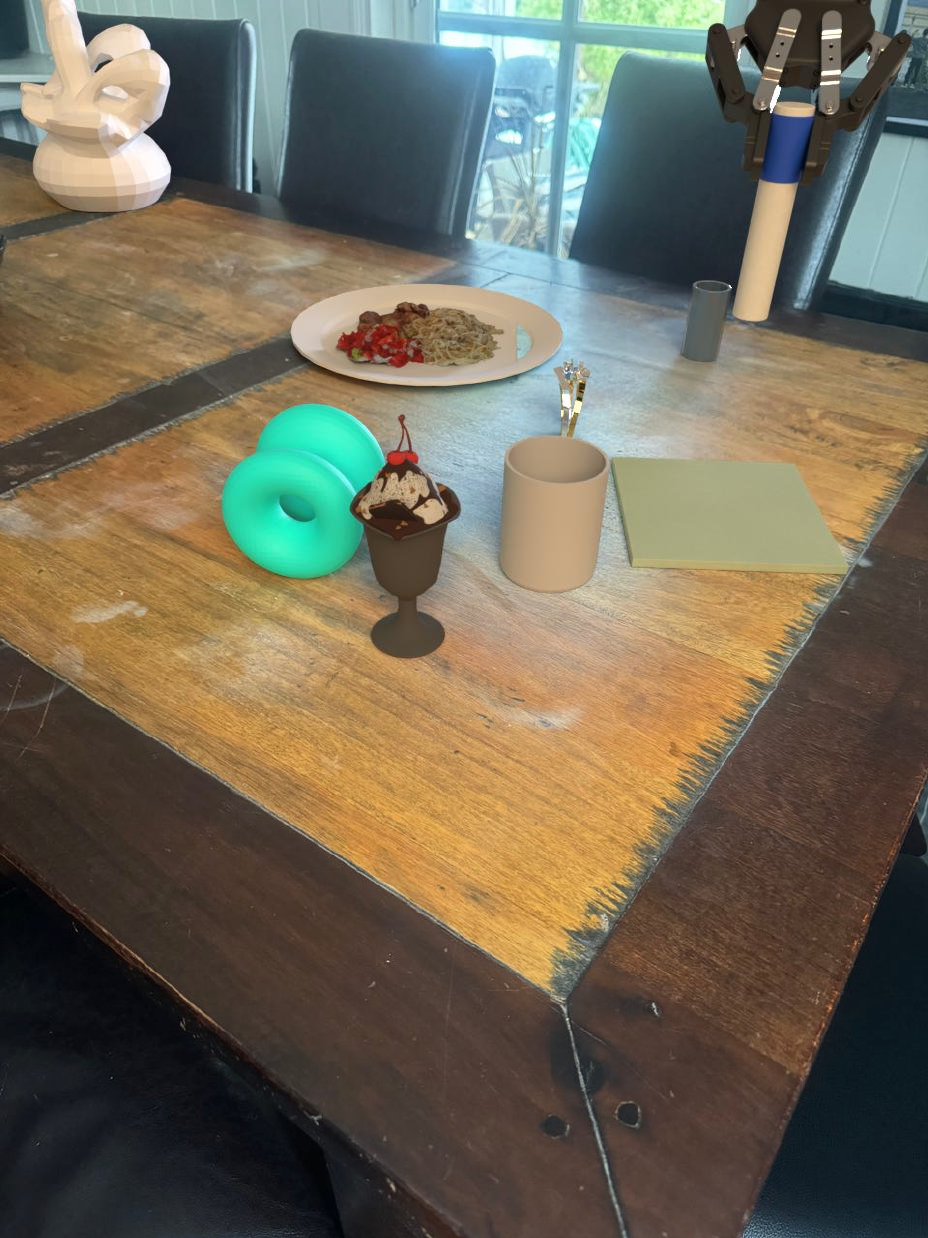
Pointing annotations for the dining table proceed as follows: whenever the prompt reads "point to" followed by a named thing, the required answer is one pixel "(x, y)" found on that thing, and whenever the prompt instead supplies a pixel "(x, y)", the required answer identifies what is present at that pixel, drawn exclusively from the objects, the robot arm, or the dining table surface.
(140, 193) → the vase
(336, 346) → the plated food
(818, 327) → the dining table surface
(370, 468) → the donuts
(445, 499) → the sundae
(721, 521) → the mat
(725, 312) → the grey hollow cylinder
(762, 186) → the marker
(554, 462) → the cup
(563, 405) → the ring
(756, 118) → the robot arm
